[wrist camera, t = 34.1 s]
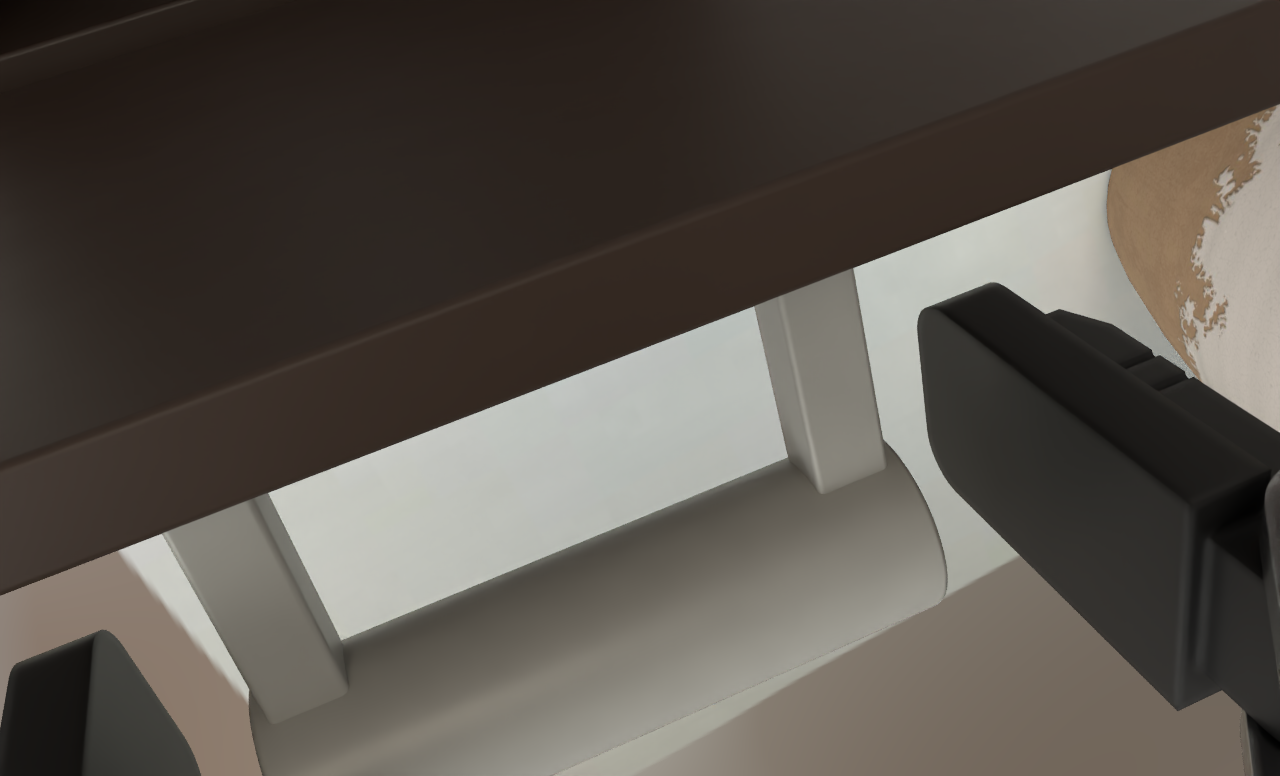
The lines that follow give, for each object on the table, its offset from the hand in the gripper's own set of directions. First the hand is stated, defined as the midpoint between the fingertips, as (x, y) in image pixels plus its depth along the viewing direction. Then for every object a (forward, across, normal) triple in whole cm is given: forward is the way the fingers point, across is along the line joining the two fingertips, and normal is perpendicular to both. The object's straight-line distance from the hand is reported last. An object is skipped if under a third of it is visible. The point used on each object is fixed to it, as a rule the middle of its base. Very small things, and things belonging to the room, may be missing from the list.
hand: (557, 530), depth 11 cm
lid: (+4, 0, -4) cm, 5 cm away
